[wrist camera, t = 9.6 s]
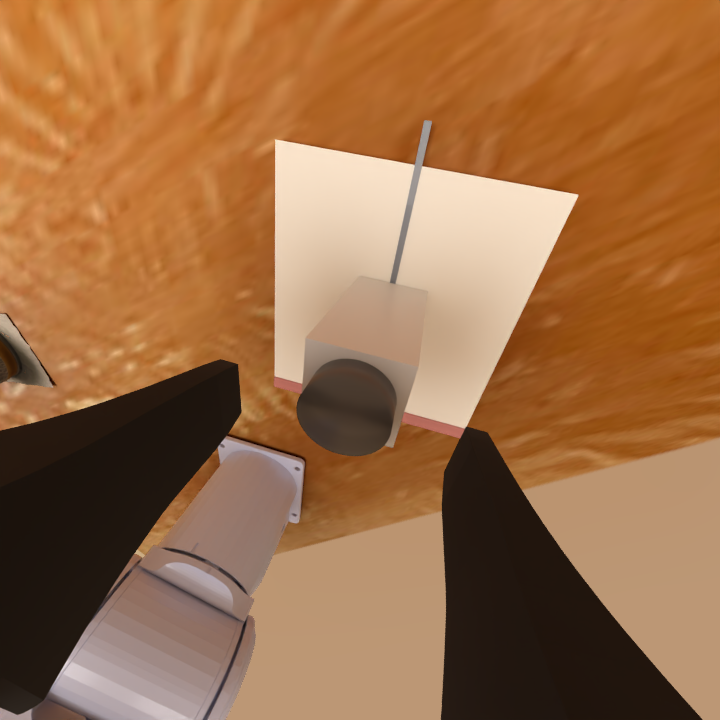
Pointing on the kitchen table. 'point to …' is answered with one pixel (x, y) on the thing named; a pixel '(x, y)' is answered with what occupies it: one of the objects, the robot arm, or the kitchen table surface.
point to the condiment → (18, 358)
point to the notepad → (410, 262)
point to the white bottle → (362, 367)
